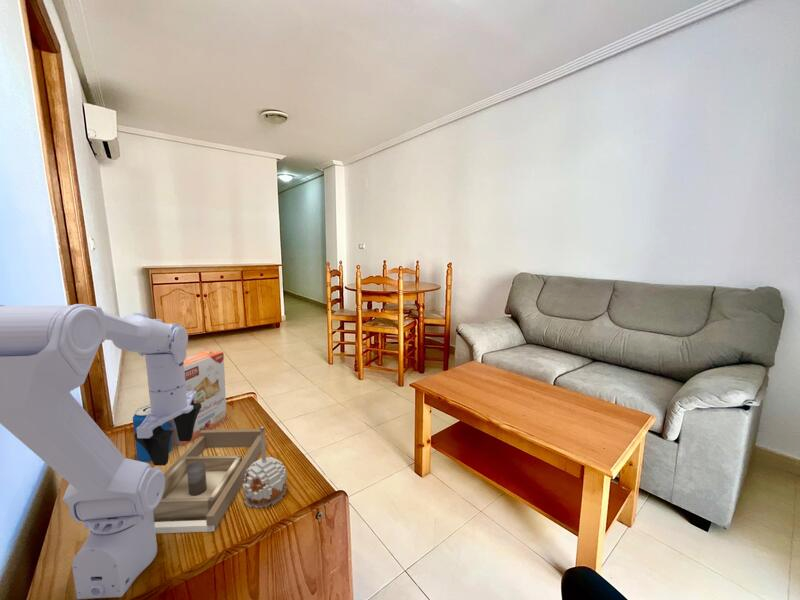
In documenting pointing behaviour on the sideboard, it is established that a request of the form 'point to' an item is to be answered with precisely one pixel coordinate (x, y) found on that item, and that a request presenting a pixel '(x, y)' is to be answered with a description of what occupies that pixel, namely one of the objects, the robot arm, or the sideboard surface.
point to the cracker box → (204, 391)
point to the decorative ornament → (264, 480)
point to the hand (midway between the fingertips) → (174, 451)
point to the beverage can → (137, 421)
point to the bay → (227, 495)
